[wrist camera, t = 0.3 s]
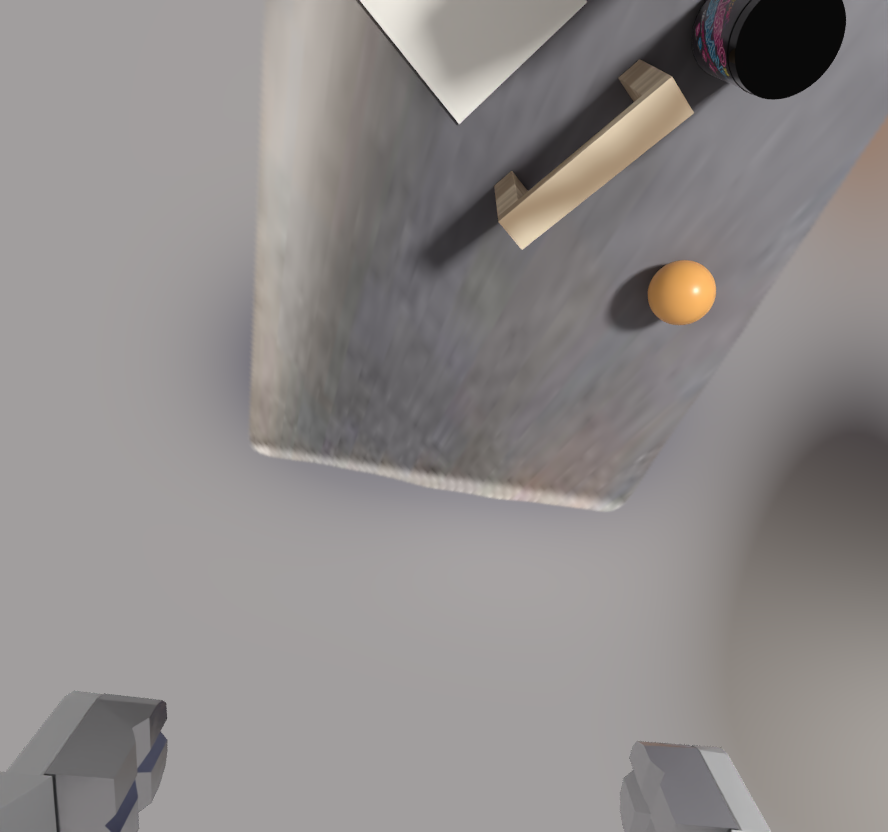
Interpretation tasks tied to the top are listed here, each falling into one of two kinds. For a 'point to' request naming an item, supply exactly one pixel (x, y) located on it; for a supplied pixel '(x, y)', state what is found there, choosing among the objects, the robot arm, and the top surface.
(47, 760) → the robot arm
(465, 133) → the top surface
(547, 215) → the bridge
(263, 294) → the top surface
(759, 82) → the supplement container
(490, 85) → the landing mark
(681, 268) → the ball
